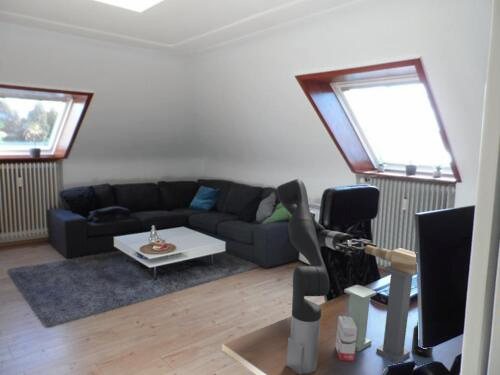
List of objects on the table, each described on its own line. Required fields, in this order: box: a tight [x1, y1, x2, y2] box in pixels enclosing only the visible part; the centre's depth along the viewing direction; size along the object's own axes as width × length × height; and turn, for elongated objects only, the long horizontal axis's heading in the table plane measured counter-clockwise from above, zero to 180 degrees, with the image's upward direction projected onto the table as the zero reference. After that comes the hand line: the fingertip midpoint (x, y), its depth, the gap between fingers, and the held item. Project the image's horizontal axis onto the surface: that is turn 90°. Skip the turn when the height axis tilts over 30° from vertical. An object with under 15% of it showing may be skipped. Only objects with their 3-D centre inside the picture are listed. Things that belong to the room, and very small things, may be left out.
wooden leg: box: [364, 245, 417, 276], centre depth 134 cm, size 5×19×6 cm, turn 40°
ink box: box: [335, 315, 357, 362], centre depth 134 cm, size 8×5×12 cm, turn 178°
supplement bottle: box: [411, 321, 434, 358], centre depth 137 cm, size 7×7×12 cm
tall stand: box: [376, 265, 417, 364], centre depth 134 cm, size 8×8×31 cm
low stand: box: [343, 284, 377, 352], centre depth 141 cm, size 8×8×20 cm
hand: (367, 249), depth 147 cm, fingers open, 8 cm apart
